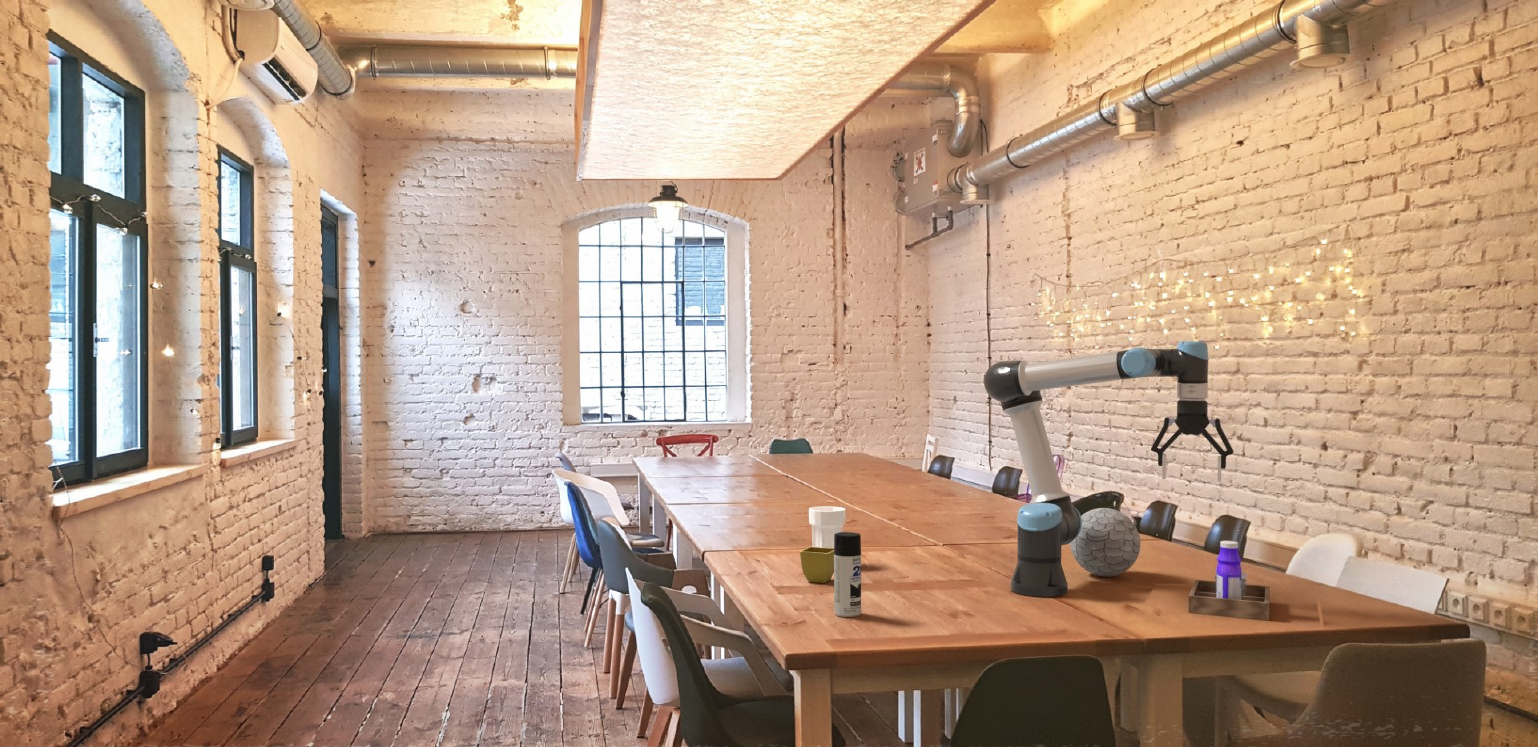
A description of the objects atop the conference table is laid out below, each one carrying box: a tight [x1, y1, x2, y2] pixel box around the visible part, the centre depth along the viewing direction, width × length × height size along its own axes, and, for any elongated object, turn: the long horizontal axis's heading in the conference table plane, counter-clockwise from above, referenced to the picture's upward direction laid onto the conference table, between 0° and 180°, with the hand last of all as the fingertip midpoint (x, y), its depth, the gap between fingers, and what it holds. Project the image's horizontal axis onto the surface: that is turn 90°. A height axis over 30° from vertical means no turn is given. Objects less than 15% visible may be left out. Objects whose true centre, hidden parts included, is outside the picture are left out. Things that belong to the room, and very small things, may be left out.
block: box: [1214, 571, 1248, 596], centre depth 275 cm, size 7×8×7 cm
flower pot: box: [799, 546, 834, 584], centre depth 303 cm, size 9×9×9 cm
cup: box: [808, 505, 847, 548], centre depth 327 cm, size 11×11×17 cm
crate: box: [1188, 579, 1271, 622], centre depth 270 cm, size 18×22×5 cm
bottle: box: [1215, 540, 1243, 600], centre depth 265 cm, size 7×6×17 cm
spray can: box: [833, 531, 862, 618], centre depth 263 cm, size 7×7×20 cm
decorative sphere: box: [1069, 507, 1141, 578], centre depth 313 cm, size 20×20×20 cm
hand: (1191, 480), depth 282 cm, fingers open, 13 cm apart
